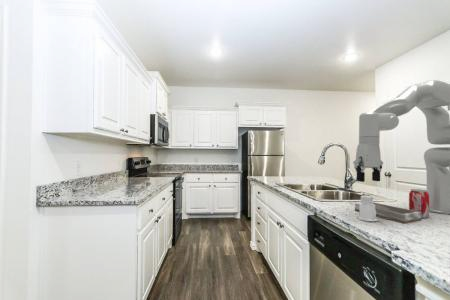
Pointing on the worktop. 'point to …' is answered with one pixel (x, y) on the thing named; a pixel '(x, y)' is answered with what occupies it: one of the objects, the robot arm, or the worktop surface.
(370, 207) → the downlight
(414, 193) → the soda can
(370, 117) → the robot arm
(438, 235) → the worktop surface
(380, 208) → the silver picture frame
